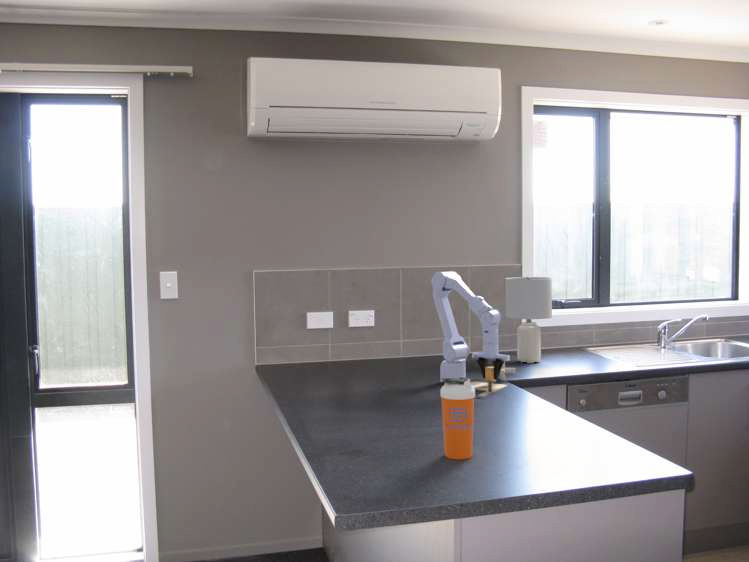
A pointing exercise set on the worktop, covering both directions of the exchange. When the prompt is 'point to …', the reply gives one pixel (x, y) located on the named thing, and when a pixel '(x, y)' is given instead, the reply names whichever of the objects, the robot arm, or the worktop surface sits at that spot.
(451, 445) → the shaker bottle
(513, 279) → the lamp
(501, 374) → the pipe connector
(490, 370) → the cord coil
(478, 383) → the shelf board
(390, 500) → the worktop surface
